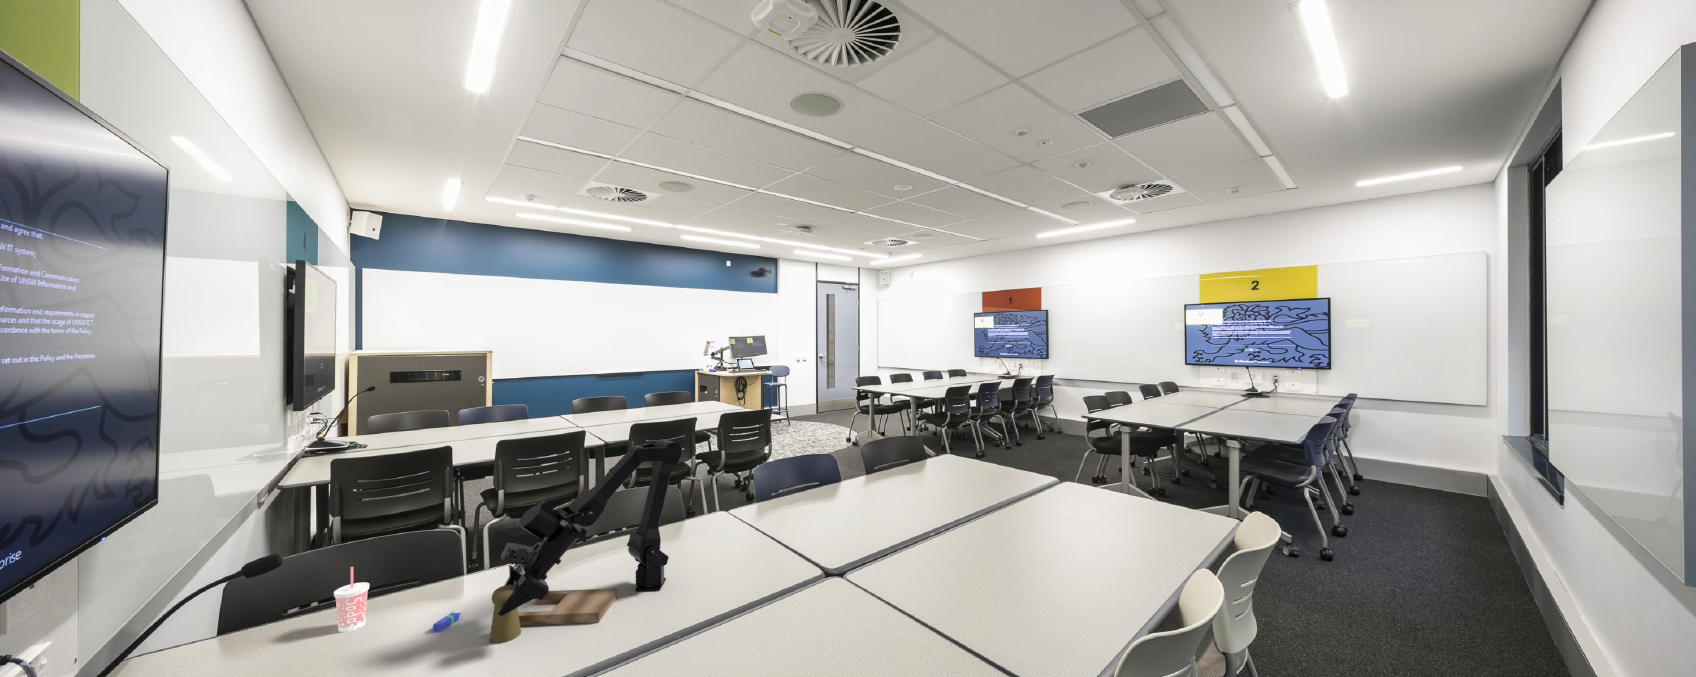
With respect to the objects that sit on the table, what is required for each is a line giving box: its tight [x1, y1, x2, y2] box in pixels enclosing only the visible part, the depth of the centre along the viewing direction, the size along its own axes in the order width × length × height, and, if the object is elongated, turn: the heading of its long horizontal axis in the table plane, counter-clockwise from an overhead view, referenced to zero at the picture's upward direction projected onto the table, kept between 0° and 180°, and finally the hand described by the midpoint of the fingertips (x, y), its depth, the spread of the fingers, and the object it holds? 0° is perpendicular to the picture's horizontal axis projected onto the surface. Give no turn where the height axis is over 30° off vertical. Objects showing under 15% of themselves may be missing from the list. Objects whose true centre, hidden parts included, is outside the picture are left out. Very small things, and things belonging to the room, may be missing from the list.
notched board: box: [518, 588, 618, 627], centre depth 130 cm, size 20×12×2 cm, turn 95°
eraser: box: [432, 610, 462, 633], centre depth 124 cm, size 2×6×2 cm, turn 176°
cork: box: [489, 584, 522, 645], centre depth 119 cm, size 6×6×11 cm
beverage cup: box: [333, 566, 370, 633], centre depth 123 cm, size 6×6×14 cm
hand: (498, 608), depth 118 cm, fingers open, 6 cm apart
